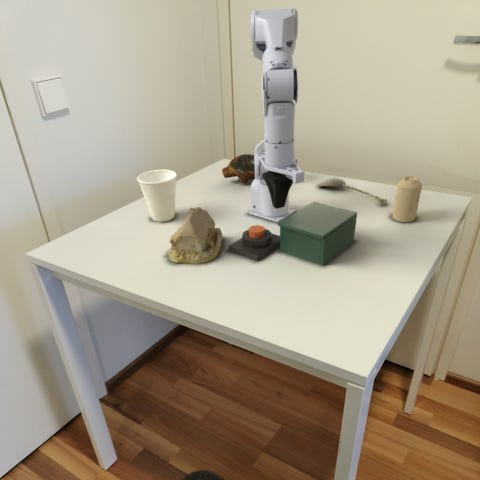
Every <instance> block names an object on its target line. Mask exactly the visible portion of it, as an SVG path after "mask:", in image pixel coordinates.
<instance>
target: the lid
mask: <svg viewBox="0 0 480 480" xmlns="http://www.w3.org/2000/svg"><path fill="white" fill-rule="evenodd" d="M355 216H357V217H358V212H357V211H354V210H349V209H345V208H341V207H336V206H333V205H330V204H325V203H321V202H317V201H313V202H311V203H309V204H308V205H306V206H304V207H302V208H301V209H299V210H297V211H295V212H294V213H293V214H291V215H289V216H288V217H286V218H284V219H283V220H281V221H279V222H277V227H280V226H281V227H284V228H287V229H291V230H294V231H297V232H301V233H304V234H307V235H311V236H314V237H317V238H321V239H323V238H325V237H326V236H328V235H329V234H331V233H332V232H334V231H335V230H336V229H338V228H339V227H341V226H342V225H344V224H345V223H347V222H348V221H349V220H351V219H352V218H354V217H355Z"/></svg>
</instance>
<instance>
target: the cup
mask: <svg viewBox="0 0 480 480" xmlns="http://www.w3.org/2000/svg"><path fill="white" fill-rule="evenodd" d="M177 176H178V174H177V172H176V171H174V170H172V169H171V170H170V169H154V170H148V171H145V172H142V173H140V174H139V175H138V176H137V177H136V180H137V182H138V184H139V186H140V189H141V192H142V194H143V197H144V201H145V203H146V206H147V209H148V212H149V215H150V218H151V219H152V220H153V221H155V222H157V223H158V222H159V223H163V222H169V221H171V220H173V219H174V218H175V216H176V190H177Z"/></svg>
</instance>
